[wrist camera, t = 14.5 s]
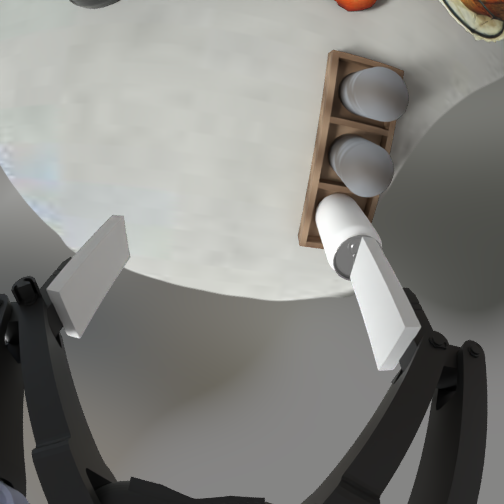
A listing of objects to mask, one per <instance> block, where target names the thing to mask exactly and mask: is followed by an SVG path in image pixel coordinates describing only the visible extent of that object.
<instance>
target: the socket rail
mask: <svg viewBox="0 0 504 504" xmlns="http://www.w3.org/2000/svg"><path fill="white" fill-rule="evenodd" d="M403 75H404V71H403V70H400V69H397V68H395V67H392V66H389V65H386V64H383V63H380V62H377V61H373V60H370V59H367V58H363V57H360V56H356V55H352V54H348V53H344V52H340V51H336V50H332V51H331V52H330V53H328V60H327V68H326V75H325V83H324V90H323V97H322V103H321V110H320V117H319V123H318V129H317V135H316V142H315V148H314V153H313V159H312V165H311V171H310V176H309V182H308V187H307V192H306V198H305V203H304V208H303V213H302V218H301V223H300V228H299V233H298V239H299V245H300V246H304V247H312V248H320V249H324V247H323V244H322V240H321V237H320V234H319V231H318V228H317V224H316V221H315V211H316V208H317V206H318V204H319V203H320V202H321V201H322V200H323V199H324V198H325V197H327V196H329V195H332V194H336V193H342V194H345V195H348V196H350V197H351V198H352V199H354V201H355V202H356V203H357V204H358V206H359V207H360V208H361V210H362V211H363V213H364V214H365V215H366V217H367V218H368V220H369V221H370V223H372V220H373V216H374V213H375V210H376V206H377V202H378V199H379V195H380V193H382V192H383V191H384V190H385V189H387V187H388V186H389V184H390V183H391V181H392V178H393V173H394V166H393V162H392V159H391V157H390V155H389V154H390V150H391V145H392V140H393V135H394V130H395V125H396V120H397V119H398V118H399V117H401V116H402V115H403V113H404V112H405V111H406V109H407V106H408V101H409V95H408V90H407V87H406V84H405V83H404V81H403Z"/></svg>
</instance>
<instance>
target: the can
mask: <svg viewBox="0 0 504 504" xmlns="http://www.w3.org/2000/svg"><path fill="white" fill-rule="evenodd" d="M315 221H316V224H317V228H318V231H319V234H320V237H321V240H322V244H323V247H324V250H325V253H326V256H327V259H328V262H329V264H330V266H331V267H332V268H333V269H334V270H335V271H336V273H337V274H338V275H339V276H340V277H342V278H344V279H346V280H350V281H351V279H350V275H351V272H352V269H353V265H354V262H355V259H356V256H357V253H358V249H359V246H360V242H361V239H362V237H371V238H375V239H376V241H377V243H378V245H379V246H380V248H381V250H382V242H381V239H380V237H379V235H378V233H377V232H376V230H375V229H374V227H373V226H372V224H371V223H370V221H369V220H368V218H367V217H366V215H365V214H364V213H363V211H362V210H361V208H360V207H359V206H358V204H357V203H356V202H355V201H354V199H352V198H351V197H350V196H348V195H345V194H342V193H336V194H332V195H329V196H327V197H325V198H324V199H323V200H322V201H321V202H320V203H319V204H318V206H317V208H316V211H315ZM382 251H383V250H382Z"/></svg>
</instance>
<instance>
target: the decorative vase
mask: <svg viewBox="0 0 504 504" xmlns="http://www.w3.org/2000/svg"><path fill="white" fill-rule="evenodd" d="M439 1H440V2H441V3H442V4H443V6H444V7H445V8H446V9H447V10H448V12H449V14H450V15H451V16H452V17H453V18H454V19H455V20H456V21H457V22H458V24H459V25H461V26H463V27H464V28H465V30H466V32H470V33H471V34H472V35H473V36H474V38H475V40H482V39H484V40H485V41H486V42H491V41H493V42H496V40H498V41H500V40H502V39H503V38H504V0H439Z"/></svg>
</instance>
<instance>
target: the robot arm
mask: <svg viewBox="0 0 504 504" xmlns="http://www.w3.org/2000/svg"><path fill="white" fill-rule="evenodd" d="M69 1H71V2H72V3H73V4H75V5H78V6H81V7H84V8H89V9H95V8H101V7H105V6H108V5H111V4H113V3H115V2H117V1H119V0H69ZM129 258H130V252H129V247H128V241H127V235H126V228H125V222H124V216H117V215H112V216H111V217H110V218H109V219H108V220H107V221H106V222H105V223H104V224H103V225H102V226H101V227H100V228H99V229H98V230H97V231H96V232H95V233H94V235H93V236H92V237H91V238H90V239H89V240H88V241H87V242H86V243H85V244H84V245H83V246H82V247H81V249H80V250H79V251H78V252H77V253H76V254H75V255H74V257H73V258H71V257H70V258H68V259H67V260H65V261H64V262H62V264H61V265H60V266H59V267H58V268H57V270H55V272H54V273H53V275H51V276H50V278H49V279H48V280H47V281H46V282H45V284H44V285H43V286H42V287H41V289H40V290H39V288H38V285H37V283H36V280H35V278H33V277H30V276H27V277H23V278H21V279H19V280H18V281H17V282H16V283H15V284H14V285H13V287H12V293H13V295H14V297H15V299H16V301H17V302H10V301H9V298H8V296H7V295H5V294H0V504H29V503H28V501H27V499H26V473H25V462H24V447H23V397H24V390H25V396H26V402H27V407H28V412H29V417H30V421H31V426H32V430H33V434H34V438H35V442H36V448H35V449H33V450H32V458H33V462H34V465H35V468H36V471H37V474H38V477H39V480H40V483H41V486H42V488H43V491H44V494H45V496H46V499H47V501H48V504H271V503H268V502H265V498H254V497H253V498H252V497H238V496H226V497H216V498H204V499H194V498H190V497H188V496H186V495H183V494H181V493H179V492H176V491H174V490H172V489H170V488H167V487H165V486H163V485H161V484H156V483H153V482H149V481H145V480H141V479H138V478H134V477H131V479H130V481H119V482H117V480H116V479H115V477H114V475H113V474H112V472H111V471H110V469H109V468H108V467H107V466H106V464H105V463H104V461H103V459H102V457H101V455H100V453H99V451H98V449H97V446H96V444H95V441H94V439H93V437H92V434H91V432H90V429H89V427H88V424H87V422H86V419H85V416H84V413H83V410H82V408H81V405H80V402H79V399H78V396H77V392H76V389H75V386H74V383H73V379H72V376H71V372H70V368H69V364H68V361H67V357H66V352H65V348H64V344H63V339H62V336H61V334H60V330H61V329H62V327H64V329H65V331H66V333H67V335H69V336H72V337H76V338H81V336H82V334H83V332H84V331H85V329H86V327H87V325H88V324H89V322H90V320H91V318H92V317H93V315H94V313H95V312H96V310H97V308H98V307H99V305H100V303H101V302H102V300H103V298H104V297H105V295H106V294H107V292H108V290H109V289H110V287H111V286H112V284H113V283H114V281H115V279H116V278H117V276H118V275H119V273H120V272H121V270H122V269H123V267H124V266H125V264H126V263H127V261H128V260H129ZM350 279H351V282H352V285H353V288H354V291H355V294H356V297H357V300H358V303H359V306H360V309H361V312H362V315H363V319H364V322H365V325H366V329H367V332H368V335H369V339H370V342H371V346H372V349H373V353H374V356H375V360H376V363H377V367H378V371H380V370H393V369H394V368H395V366H396V365H397V364H398V362H400V365H401V370H400V371H399V372H398V374H397V375H396V376H395V378H394V379H393V380H392V385H391V387H390V388H389V390H388V392H387V394H386V395H385V397H384V399H383V400H382V402H381V404H380V405H379V407H378V408H377V410H376V412H375V413H374V415H373V417H372V418H371V419H370V421H369V422H368V424H367V425H366V427H365V428H364V430H363V431H362V433H361V434H360V436H359V437H358V438H357V440H356V441H355V443H354V444H353V446H352V447H351V448H350V449H349V451H348V452H347V453H346V455H345V456H344V457H343V459H342V460H341V461H340V463H339V464H338V465H337V466H336V468H335V469H334V470H333V471H332V472H331V473H330V475H329V476H328V477H327V478H326V480H325V481H324V482H323V483H322V484H321V486H319V488H318V489H317V490H316V491H315V492H314V493H313V494H311V495H310V496H309V497H308V498H307V499H306V500H305V501H304V502H303V503H302V504H380V500H379V498H380V495H381V494H382V492H383V491H384V489H385V488H386V486H387V485H388V483H389V481H390V480H391V478H392V477H393V475H394V473H395V471H396V470H397V468H398V466H399V465H400V463H401V461H402V459H403V458H404V456H405V454H406V452H407V450H408V448H409V447H410V444H411V443H412V441H413V439H414V437H415V435H416V433H417V431H418V428H419V426H420V424H421V422H422V420H423V418H424V415H425V413H426V411H427V409H428V406H429V404H430V401H431V399H432V403H431V410H430V416H429V423H428V428H427V433H426V438H425V443H424V448H423V452H422V457H421V460H420V465H419V468H418V472H417V475H416V479H415V482H414V486H413V489H412V492H411V495H410V498H409V501H408V504H477V499H478V495H479V490H480V485H481V479H482V472H483V466H484V457H485V448H486V434H487V379H486V364H485V354H484V351H483V349H482V347H481V346H480V345H479V344H478V343H476V342H474V341H471V340H468V341H465V343H464V344H463V345H462V346H461V347H457V346H453V345H449V343H448V341H447V339H446V338H445V337H444V336H443V335H442V334H440V333H439V332H436V331H433V329H432V327H431V325H430V323H429V321H428V319H427V317H426V315H425V313H424V311H423V310H422V307H421V305H420V304H419V301H418V299H417V297H416V295H415V294H414V293H413V292H412V291H411V290H410V289H409V288H402V286H401V284H400V283H399V281H398V279H397V277H396V275H395V273H394V271H393V270H392V268H391V266H390V264H389V262H388V260H387V259H386V257H385V255H384V253H383V251H382V250H381V248H380V246H379V245H378V243H377V241H376V239H375V238H371V237H362V239H361V242H360V246H359V249H358V253H357V256H356V259H355V262H354V265H353V269H352V272H351V275H350ZM4 339H6V342H5V341H4Z"/></svg>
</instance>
